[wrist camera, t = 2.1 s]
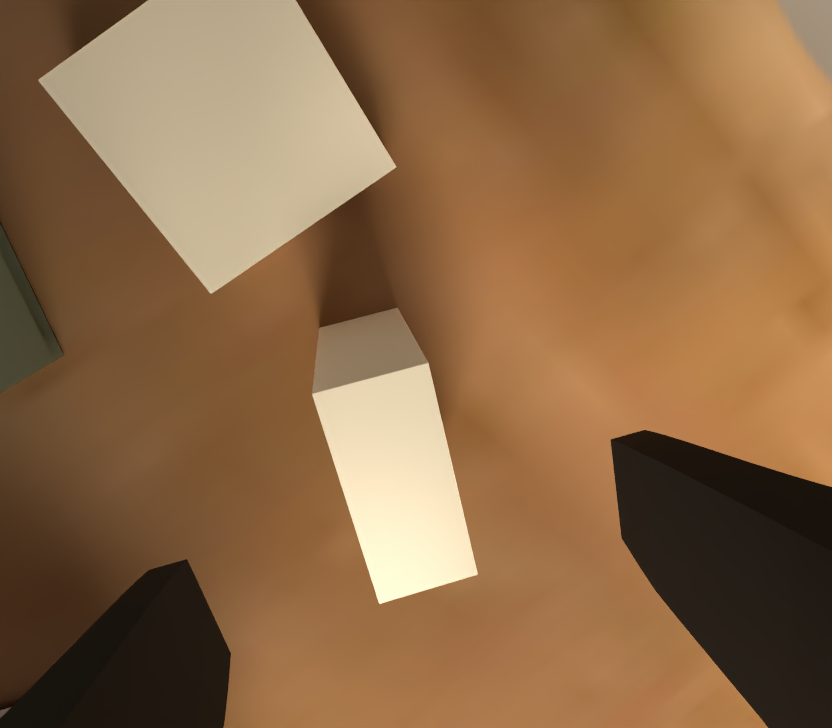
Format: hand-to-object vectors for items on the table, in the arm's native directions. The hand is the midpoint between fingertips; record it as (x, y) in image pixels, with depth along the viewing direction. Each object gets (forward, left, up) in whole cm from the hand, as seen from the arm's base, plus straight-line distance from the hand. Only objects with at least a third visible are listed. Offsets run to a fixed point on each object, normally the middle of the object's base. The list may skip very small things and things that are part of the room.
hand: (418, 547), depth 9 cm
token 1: (+7, +2, -7) cm, 10 cm away
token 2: (0, 0, -7) cm, 7 cm away
